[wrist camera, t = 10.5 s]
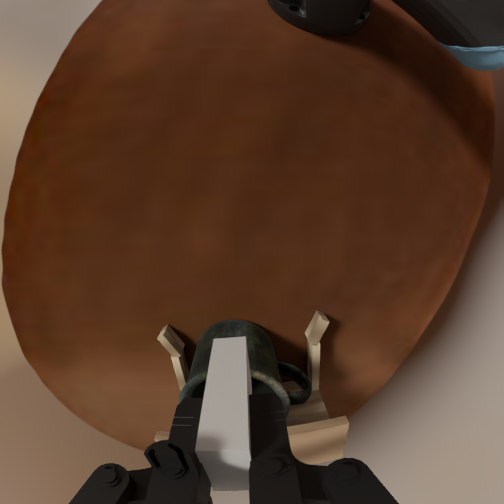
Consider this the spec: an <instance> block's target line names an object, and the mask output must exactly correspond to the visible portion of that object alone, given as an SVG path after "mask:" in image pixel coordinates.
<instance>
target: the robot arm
mask: <svg viewBox="0 0 504 504" xmlns="http://www.w3.org/2000/svg"><path fill="white" fill-rule="evenodd" d="M267 1H268V3H269V5H270V6H271V8H272V9H273V10H274V11H275V12H276V13H277V14H278V15H279V16H280V17H282V18H283V19H284V20H286V21H287V22H289V23H291V24H293V25H295V26H297V27H299V28H301V29H304V30H307V31H310V32H314V33H318V34H323V35H346V34H350V33H352V32H355V31H357V30H358V29H359V28H360V27H361V26H362V25H363V24H364V23H365V22H366V20H367V19H368V17H369V15H370V12H371V6H372V0H267ZM392 1H393V2H394V3H396V4H397V5H398V6H399V7H401V8H402V9H403V10H404V11H406V12H407V13H408V14H409V15H410V16H412V17H413V18H414V19H415V20H416V21H417V22H418V23H419V24H420V25H422V26H423V27H424V28H425V29H426V30H427V31H428V32H429V33H430V34H431V35H432V36H433V37H434V38H435V39H436V41H437V42H438V44H440V45H441V46H443V47H445V48H446V49H447V50H448V51H449V52H450V53H451V54H452V55H453V56H454V57H455V58H456V59H457V60H458V61H459V62H460V63H461V64H462V65H464V66H465V67H468V68H471V69H475V70H479V71H490V70H497V69H501V68H504V0H392ZM144 455H145V456H146V458H147V459H148V461H149V463H150V464H151V466H152V467H150V468H146V469H141V470H132V471H127V470H126V469H125V468H124V467H122V466H121V465H118V464H114V463H109V464H104V465H101V466H99V467H98V468H97V469H96V470H95V471H94V472H93V473H92V475H91V476H90V477H89V478H88V480H87V481H86V482H85V484H84V485H83V486H82V488H81V489H80V490H79V491H78V493H77V494H76V495H75V496H74V498H73V499H72V500H71V502H70V503H69V504H213V503H212V498H211V496H210V489H211V487H212V489H213V490H214V491H237V490H249V495H250V504H399V503H398V502H397V501H396V500H395V499H394V497H393V496H392V495H391V494H390V493H389V492H388V490H387V489H386V488H385V487H384V486H383V484H382V483H381V482H380V481H379V480H378V479H377V477H376V476H375V475H374V474H373V472H372V471H371V470H370V469H369V467H368V466H367V465H366V464H364V463H363V462H362V461H360V460H357V459H354V458H343V459H339V460H336V461H334V462H333V463H331V464H329V465H328V466H318V465H310V464H305V463H303V462H301V461H299V460H298V459H296V458H295V456H294V455H293V454H292V451H291V447H290V442H289V436H288V430H287V425H286V420H285V414H284V408H283V403H282V400H281V399H280V397H279V396H278V395H277V394H276V393H275V392H272V393H262V394H252V384H251V374H250V366H249V358H248V350H247V342H246V336H244V337H232V338H218V339H214V340H213V345H212V351H211V357H210V362H209V368H208V374H207V380H206V386H205V392H204V398H184V399H183V400H182V401H181V402H180V403H179V405H178V406H177V408H176V412H175V415H174V419H173V423H172V427H171V431H170V434H169V438H168V440H160V441H158V442H155V443H153V444H151V445H150V446H149V447H148V448H147V449H146V451H145V452H144Z"/></svg>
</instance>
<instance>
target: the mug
mask: <svg viewBox="0 0 504 504" xmlns="http://www.w3.org/2000/svg"><path fill="white" fill-rule="evenodd" d="M244 336H246V342H247V350H248V358H249V366H250V374H251V384H252V394H262V393H272V392H275V393H276V394H277V395H278V396H279V397H280V399H281V400H282V403H283V408H284V414H285V419H286V417H287V415H288V413H289V409H290V405H298V404H304V403H305V402H306V401H307V400H308V399H309V398H310V396H311V392H312V384H311V382H310V380H309V379H308V377H307V376H306V375H305V374H304V373H303V372H302V371H301V370H300V369H299V368H297V367H296V366H294V365H291V364H288V363H284V362H280V361H277V360H276V355H275V351H274V346H273V343H272V341H271V339H270V337H269V336H268V334H267V333H266V332H265V331H264V330H263V329H261V328H260V327H258V326H257V325H254V324H252V323H249V322H246V321H241V320H227V321H222V322H219V323H216V324H214V325H212V326H210V327H209V328H208V329H206V330H205V331H204V332H203V333H202V335H201V336H200V338H199V340H198V343H197V346H196V350H195V354H194V358H193V362H192V366H191V369H190V373H189V377H188V381H187V383H186V384H185V385H184V387H183V388H182V390H181V393H180V395H179V403H180V402H181V401H182V400H183V399H184V398H204V392H205V386H206V380H207V374H208V368H209V362H210V357H211V351H212V345H213V340H214V339H218V338H232V337H244ZM280 375H283V376H286V377H289V378H291V379H292V380H294V381H295V382H296V383H297V384H298V385H299V386H300V388H301V389H302V391H296V392H289V391H286V390H285V389H284V387H283V386H282V383H281V379H280Z"/></svg>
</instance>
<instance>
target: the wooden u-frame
mask: <svg viewBox="0 0 504 504" xmlns="http://www.w3.org/2000/svg"><path fill="white" fill-rule="evenodd" d="M329 323H330V322H329V320H328V319H327V317H326V316H325V314H324V313H323V312H320V311H318V310H317V311H316V313H315V315H314V316H313V318H312V320H311V322H310V324H309V326H308V328H307V330H306V332H305V335H306V337H307V339H308V379H309V380H310V382H311V384H312V392H311V396H310V398H309V399H308V400H307V401H306V402H305V403H304V404H298V405H290V409H289V413H288V415H287V417H286V419H285V420H286V425H287V430H288V436H289V442H290V447H291V451H292V454H293V455H294V456H295V458H296V459H298V460H299V461H301V462H303V463H305V464H310V465H311V464H316V463H321V462H326V461H330V460H335V459H339V458H342V455H343V450H344V446H345V442H346V437H347V432H348V427H349V422H348V420H347V417H346V416H342V417H337V418H333V419H330V418H329V415H328V413H327V410H326V407H325V405H324V402H323V400H322V397H321V394H320V392H319V372H320V342H319V341H320V339H321V337H322V335H323V334H324V332H325V330H326V328H327V326H328V324H329ZM157 339H158V340H159V341H160V342H161V344H162V345H163V346H164V347H165V348H166V349H167V350H168V352H169V353H170V354H171V355H172V356H171V359H172V363H173V366H174V370H175V373H176V377H177V380H178V384H179V387H180V390H182V388H183V387H184V385H185V384H186V383H187V381H188V377H189V370H188V366H187V362H186V358H185V354H184V350H183V348H184V346H185V344H184V343H183V341H182V340H181V339H180V338H179V337H178V336H177V334H176V333H175V332H174V331H173V329H172V328H171V327H170V326H169V325H167V326H165V327H163V328H162V330H161V332H160V334H159V336H158V338H157ZM282 386H283V387H284V389H285V390H286V391H289V392H296V391H302V389H301V388H300V386H299V385H298V384H297V383H296V382H295V381H289V382H282ZM169 434H170V432H160V431H157V432H156V435H155V439H154V440H155V442H158V441H160V440H168V438H169Z"/></svg>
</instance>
